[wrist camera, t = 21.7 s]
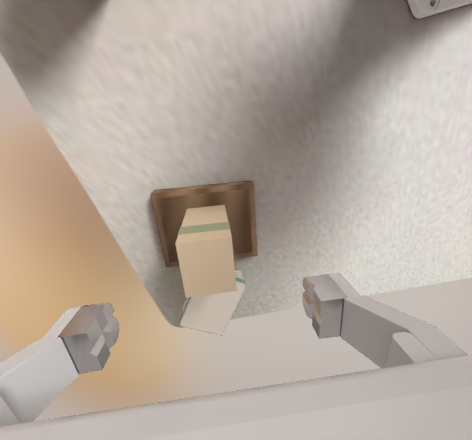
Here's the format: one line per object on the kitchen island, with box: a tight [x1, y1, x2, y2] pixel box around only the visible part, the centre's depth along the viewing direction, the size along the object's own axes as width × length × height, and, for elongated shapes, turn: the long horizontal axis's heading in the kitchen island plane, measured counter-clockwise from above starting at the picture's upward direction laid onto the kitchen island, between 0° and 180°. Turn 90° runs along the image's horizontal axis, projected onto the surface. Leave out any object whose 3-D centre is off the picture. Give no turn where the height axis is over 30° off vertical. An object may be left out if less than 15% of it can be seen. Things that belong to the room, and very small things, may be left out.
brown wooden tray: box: [151, 181, 257, 267], centre depth 39 cm, size 16×13×2 cm
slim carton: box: [175, 205, 237, 298], centre depth 31 cm, size 6×7×13 cm
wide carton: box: [180, 270, 245, 336], centre depth 42 cm, size 11×8×6 cm
